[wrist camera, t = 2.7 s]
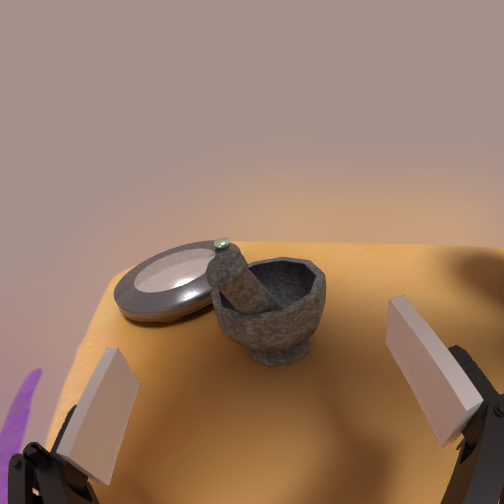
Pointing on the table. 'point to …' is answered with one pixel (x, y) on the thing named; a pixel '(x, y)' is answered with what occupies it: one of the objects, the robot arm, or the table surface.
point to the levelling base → (170, 283)
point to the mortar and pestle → (267, 304)
